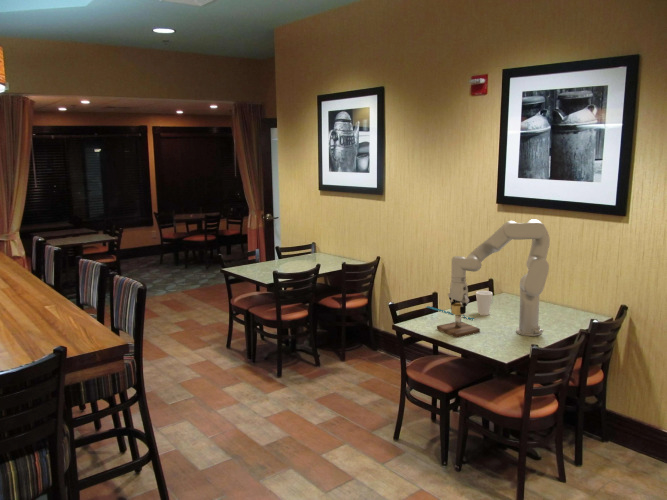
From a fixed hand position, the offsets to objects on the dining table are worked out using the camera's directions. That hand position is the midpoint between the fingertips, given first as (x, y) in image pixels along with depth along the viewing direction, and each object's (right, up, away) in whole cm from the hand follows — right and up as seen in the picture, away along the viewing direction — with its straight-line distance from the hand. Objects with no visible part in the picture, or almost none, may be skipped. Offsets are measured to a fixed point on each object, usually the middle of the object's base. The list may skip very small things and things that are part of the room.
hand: (458, 311), depth 289 cm
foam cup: (+22, -5, +31) cm, 38 cm away
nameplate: (+3, -5, +34) cm, 35 cm away
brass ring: (0, -1, 0) cm, 1 cm away
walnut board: (0, -11, +2) cm, 11 cm away
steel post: (0, -9, +2) cm, 9 cm away
